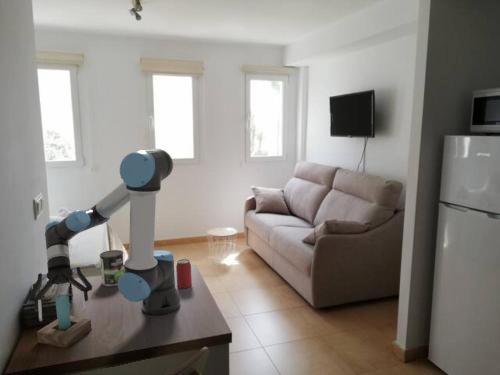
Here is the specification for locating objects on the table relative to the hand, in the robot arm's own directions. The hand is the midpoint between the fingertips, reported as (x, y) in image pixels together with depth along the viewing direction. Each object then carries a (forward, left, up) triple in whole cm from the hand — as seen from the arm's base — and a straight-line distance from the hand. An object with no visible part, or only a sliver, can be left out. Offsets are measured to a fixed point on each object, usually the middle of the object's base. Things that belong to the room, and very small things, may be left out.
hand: (63, 314), depth 128 cm
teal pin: (+1, -1, -8) cm, 8 cm away
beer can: (-20, -50, -9) cm, 55 cm away
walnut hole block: (+1, -1, -9) cm, 9 cm away
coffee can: (+15, -45, -9) cm, 48 cm away
